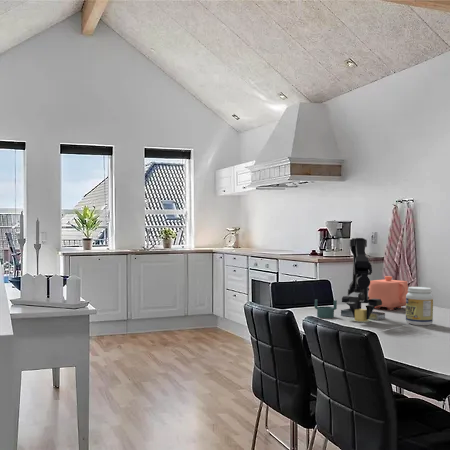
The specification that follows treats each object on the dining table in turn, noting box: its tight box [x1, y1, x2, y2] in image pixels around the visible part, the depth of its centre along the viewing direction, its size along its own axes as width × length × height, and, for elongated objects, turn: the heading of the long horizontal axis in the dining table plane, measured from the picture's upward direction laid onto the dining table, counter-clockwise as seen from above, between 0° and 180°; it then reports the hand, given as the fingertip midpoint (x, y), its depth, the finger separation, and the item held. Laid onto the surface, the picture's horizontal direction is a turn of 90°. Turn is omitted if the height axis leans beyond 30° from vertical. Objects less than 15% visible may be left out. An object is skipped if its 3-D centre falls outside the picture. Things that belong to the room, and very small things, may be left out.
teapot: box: [368, 275, 409, 311], centre depth 338 cm, size 25×23×18 cm
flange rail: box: [340, 308, 386, 321], centre depth 298 cm, size 9×20×3 cm, turn 47°
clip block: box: [354, 308, 367, 322], centre depth 287 cm, size 4×4×5 cm
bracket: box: [314, 299, 338, 319], centre depth 297 cm, size 9×9×9 cm
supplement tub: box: [405, 286, 434, 326], centre depth 283 cm, size 12×12×17 cm
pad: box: [350, 318, 375, 323], centre depth 287 cm, size 9×9×1 cm
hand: (361, 318), depth 287 cm, fingers open, 6 cm apart
